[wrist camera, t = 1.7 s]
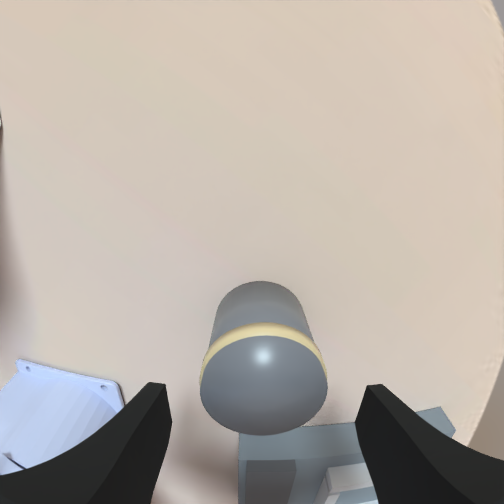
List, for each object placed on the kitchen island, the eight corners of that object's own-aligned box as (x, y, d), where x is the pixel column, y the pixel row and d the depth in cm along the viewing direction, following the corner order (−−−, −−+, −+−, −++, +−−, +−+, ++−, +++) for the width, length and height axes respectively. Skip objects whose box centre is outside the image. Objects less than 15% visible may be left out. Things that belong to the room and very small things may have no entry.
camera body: (239, 496, 21) (238, 537, 17) (239, 427, 19) (237, 481, 14) (398, 479, 22) (411, 513, 17) (440, 406, 19) (465, 445, 14)
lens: (214, 358, 17) (201, 434, 11) (212, 277, 16) (193, 338, 10) (300, 359, 17) (318, 434, 11) (310, 280, 16) (340, 341, 10)
